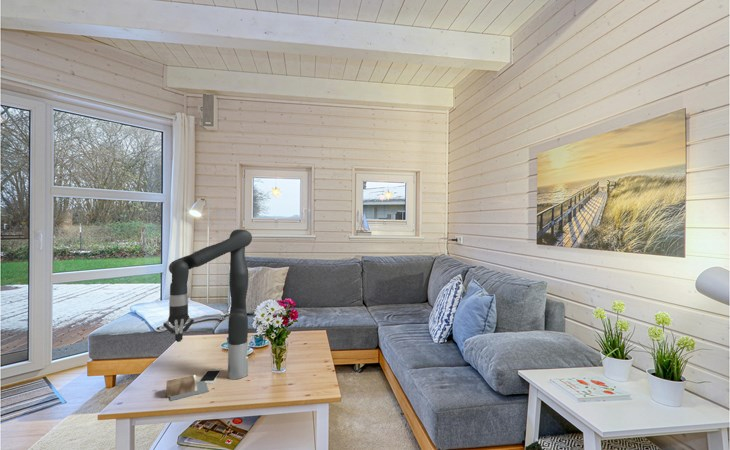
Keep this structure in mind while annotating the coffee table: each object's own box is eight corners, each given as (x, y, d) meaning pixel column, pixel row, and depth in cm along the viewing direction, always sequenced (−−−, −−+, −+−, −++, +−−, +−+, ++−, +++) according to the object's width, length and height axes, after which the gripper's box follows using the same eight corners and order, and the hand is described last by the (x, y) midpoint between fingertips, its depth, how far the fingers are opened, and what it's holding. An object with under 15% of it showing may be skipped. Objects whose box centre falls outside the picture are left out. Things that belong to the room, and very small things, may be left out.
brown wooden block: (166, 391, 154) (195, 385, 161) (167, 397, 149) (197, 390, 156) (166, 380, 154) (195, 374, 161) (167, 386, 149) (197, 379, 156)
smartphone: (197, 385, 163) (197, 383, 163) (208, 371, 178) (208, 369, 178) (212, 384, 164) (212, 382, 164) (222, 370, 179) (222, 368, 179)
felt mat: (204, 380, 166) (204, 379, 166) (208, 391, 155) (208, 390, 155) (168, 388, 158) (168, 387, 158) (170, 401, 147) (170, 400, 147)
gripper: (193, 300, 161) (193, 336, 161) (161, 304, 154) (161, 341, 154) (195, 303, 155) (195, 340, 155) (162, 307, 147) (162, 346, 147)
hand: (178, 341), depth 154 cm, fingers closed
